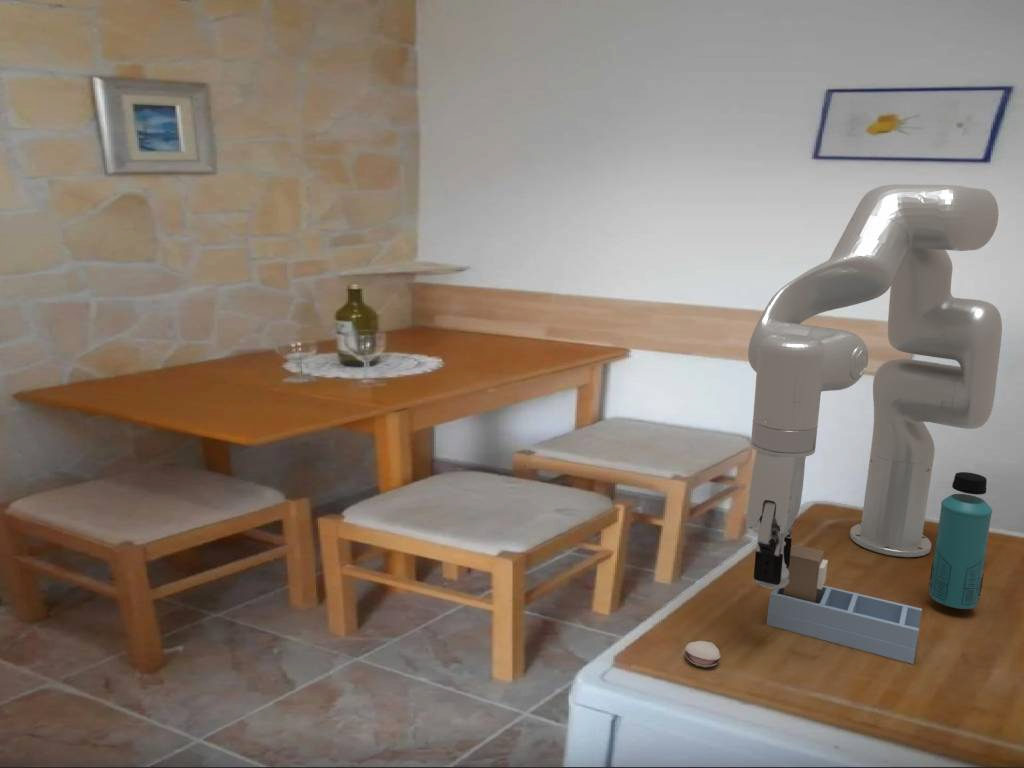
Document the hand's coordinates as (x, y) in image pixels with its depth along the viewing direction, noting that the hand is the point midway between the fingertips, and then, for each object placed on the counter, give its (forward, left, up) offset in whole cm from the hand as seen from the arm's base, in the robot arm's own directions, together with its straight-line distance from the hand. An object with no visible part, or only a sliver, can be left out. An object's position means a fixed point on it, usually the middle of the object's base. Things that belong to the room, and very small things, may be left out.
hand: (771, 571), depth 104 cm
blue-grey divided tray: (-8, +8, -10) cm, 15 cm away
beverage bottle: (-24, +21, -10) cm, 33 cm away
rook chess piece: (0, 0, -2) cm, 2 cm away
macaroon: (+9, -5, -10) cm, 14 cm away
